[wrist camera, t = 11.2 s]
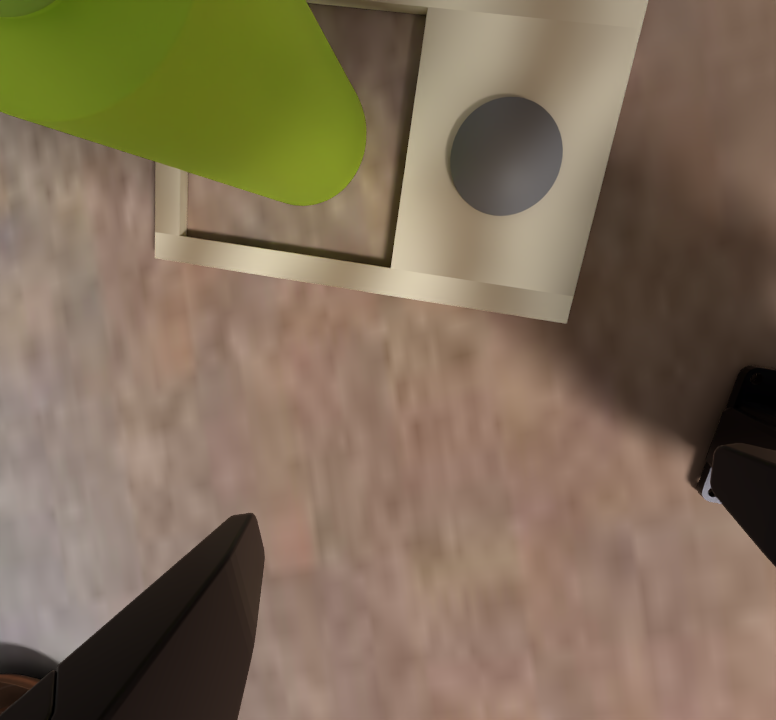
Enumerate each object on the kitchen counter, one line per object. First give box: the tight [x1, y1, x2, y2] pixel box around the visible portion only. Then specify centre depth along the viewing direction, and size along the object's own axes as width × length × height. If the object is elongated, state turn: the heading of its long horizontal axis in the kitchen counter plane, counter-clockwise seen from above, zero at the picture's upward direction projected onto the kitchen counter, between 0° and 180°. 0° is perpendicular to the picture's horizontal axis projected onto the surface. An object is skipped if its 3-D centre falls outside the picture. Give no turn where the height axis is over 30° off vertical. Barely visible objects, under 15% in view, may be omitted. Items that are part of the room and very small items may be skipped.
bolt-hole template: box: [155, 0, 648, 324], centre depth 18 cm, size 19×12×1 cm, turn 82°
